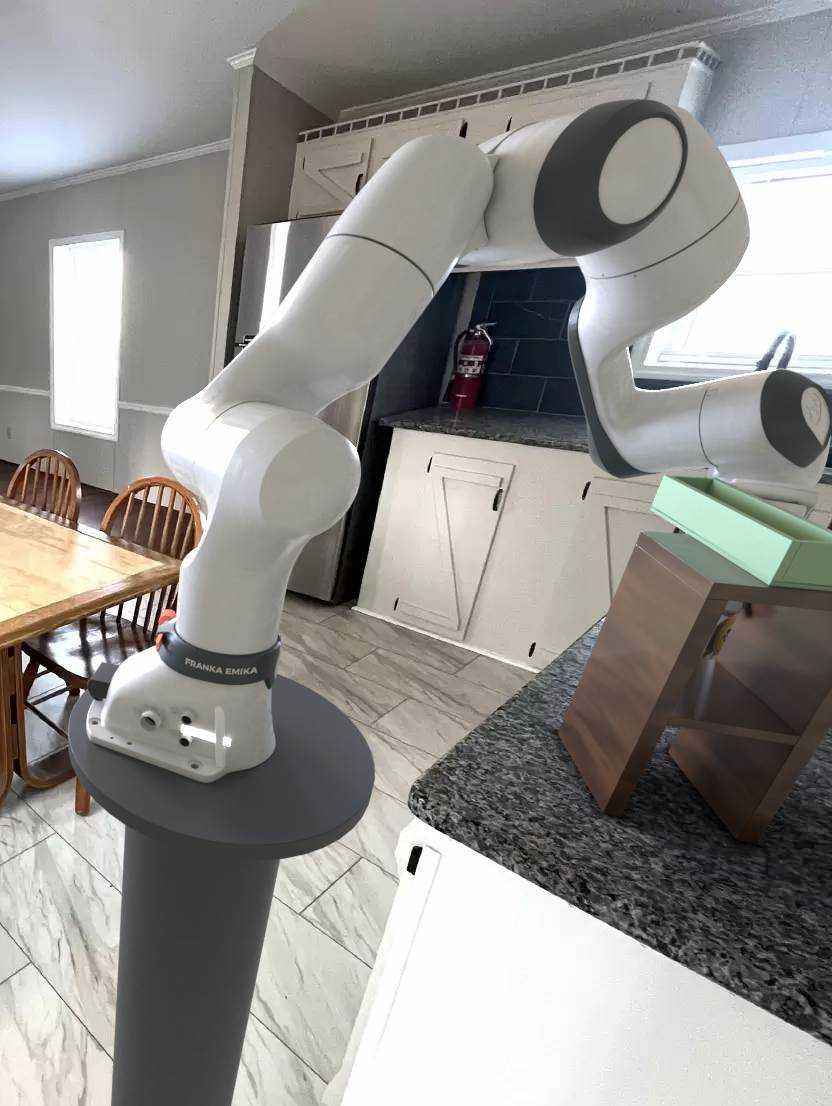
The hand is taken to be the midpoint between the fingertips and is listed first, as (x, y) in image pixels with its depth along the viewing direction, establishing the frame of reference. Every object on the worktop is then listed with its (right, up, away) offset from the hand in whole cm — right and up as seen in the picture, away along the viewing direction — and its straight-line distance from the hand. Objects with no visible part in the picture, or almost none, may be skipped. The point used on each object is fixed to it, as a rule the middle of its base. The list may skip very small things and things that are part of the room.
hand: (707, 631), depth 69 cm
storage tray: (-6, +9, -8) cm, 13 cm away
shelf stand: (-7, -16, 0) cm, 18 cm away
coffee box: (+24, -4, +24) cm, 35 cm away
